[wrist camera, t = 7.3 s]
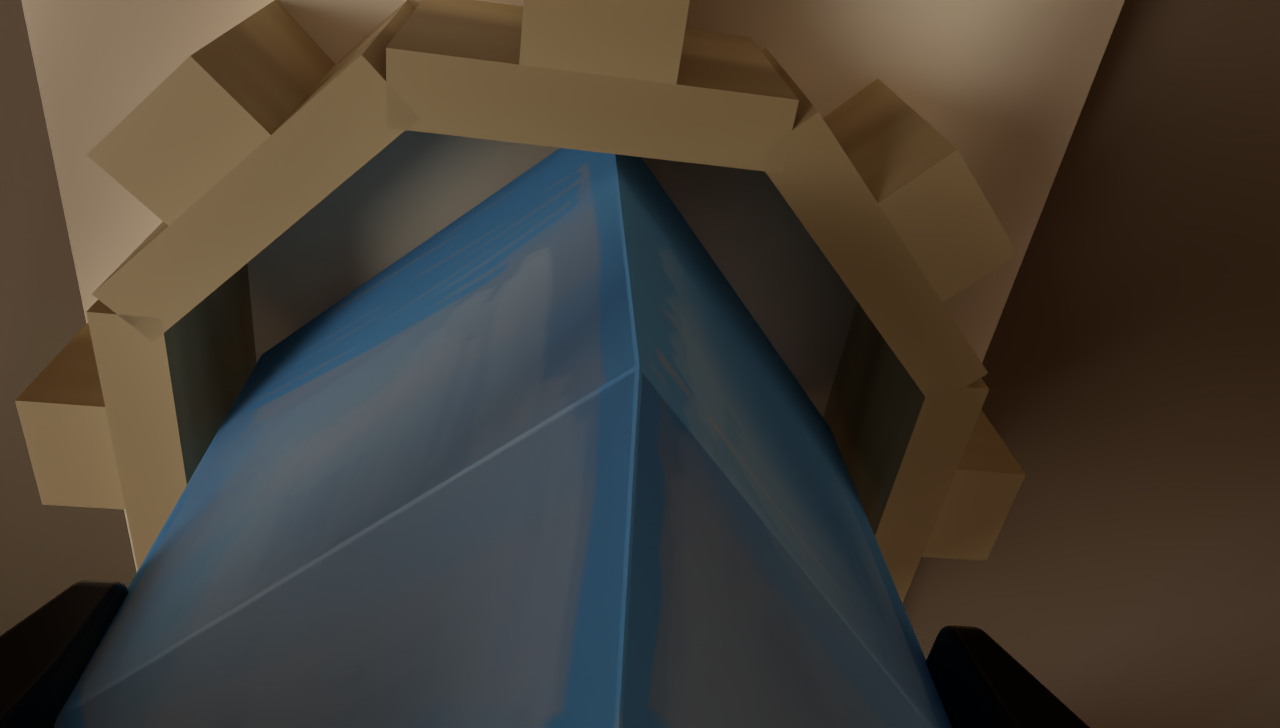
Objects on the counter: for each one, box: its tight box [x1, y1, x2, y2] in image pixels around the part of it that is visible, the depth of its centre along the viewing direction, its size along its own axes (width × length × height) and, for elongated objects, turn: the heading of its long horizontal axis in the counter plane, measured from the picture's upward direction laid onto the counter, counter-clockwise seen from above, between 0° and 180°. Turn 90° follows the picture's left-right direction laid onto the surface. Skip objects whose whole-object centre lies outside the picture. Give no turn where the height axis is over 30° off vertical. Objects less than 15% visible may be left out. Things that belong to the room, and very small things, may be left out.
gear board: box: [15, 0, 1125, 603], centre depth 14 cm, size 14×14×4 cm
